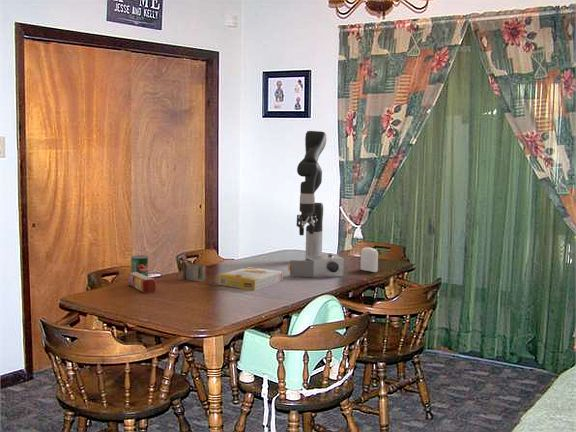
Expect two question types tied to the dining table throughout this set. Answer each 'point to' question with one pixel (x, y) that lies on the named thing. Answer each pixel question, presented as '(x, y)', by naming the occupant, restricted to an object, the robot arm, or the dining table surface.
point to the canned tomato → (139, 264)
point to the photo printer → (369, 259)
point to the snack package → (142, 282)
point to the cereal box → (250, 278)
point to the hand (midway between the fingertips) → (306, 234)
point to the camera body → (326, 265)
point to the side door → (301, 268)
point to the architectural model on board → (193, 272)
